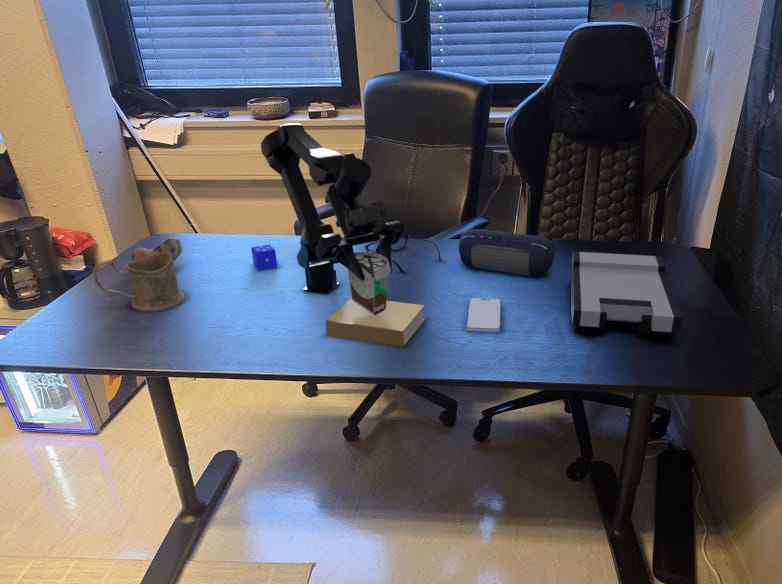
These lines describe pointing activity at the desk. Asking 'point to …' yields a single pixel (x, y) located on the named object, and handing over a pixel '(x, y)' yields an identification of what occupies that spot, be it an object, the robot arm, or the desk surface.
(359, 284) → the food container
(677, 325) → the game console
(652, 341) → the desk surface
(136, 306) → the mug
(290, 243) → the desk surface
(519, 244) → the portable speaker
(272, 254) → the die
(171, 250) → the lion figurine
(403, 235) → the eyeglasses
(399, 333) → the book
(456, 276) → the desk surface
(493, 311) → the smartphone
